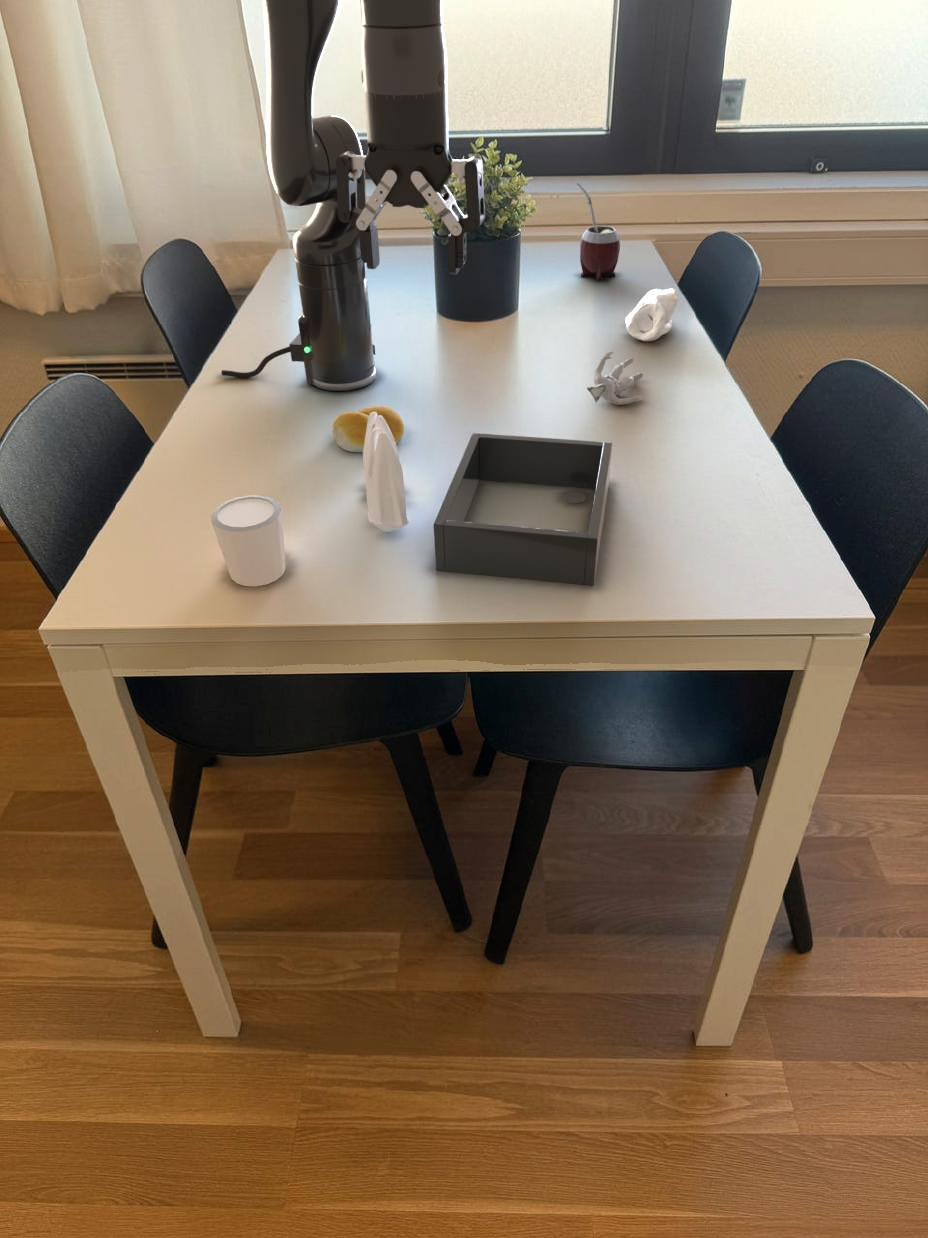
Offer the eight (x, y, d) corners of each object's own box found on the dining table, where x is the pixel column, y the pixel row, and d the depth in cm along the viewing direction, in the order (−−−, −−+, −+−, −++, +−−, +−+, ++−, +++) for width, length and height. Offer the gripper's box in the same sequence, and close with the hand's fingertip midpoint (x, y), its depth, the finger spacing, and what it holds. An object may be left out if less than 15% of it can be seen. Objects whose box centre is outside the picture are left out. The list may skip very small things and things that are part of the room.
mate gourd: (619, 281, 160) (626, 191, 151) (575, 282, 160) (580, 192, 151) (614, 268, 166) (621, 181, 157) (572, 269, 166) (576, 182, 157)
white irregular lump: (650, 314, 147) (685, 276, 141) (666, 367, 141) (704, 329, 135) (609, 297, 143) (643, 256, 137) (625, 350, 137) (661, 310, 131)
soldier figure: (655, 392, 125) (636, 399, 114) (627, 412, 127) (606, 421, 117) (625, 346, 124) (603, 348, 114) (597, 367, 127) (573, 371, 116)
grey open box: (435, 570, 90) (433, 524, 87) (473, 474, 105) (472, 432, 102) (593, 585, 87) (597, 538, 84) (608, 485, 103) (612, 442, 99)
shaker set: (410, 539, 95) (403, 445, 88) (370, 543, 94) (360, 449, 87) (400, 484, 104) (393, 395, 97) (365, 487, 104) (355, 398, 97)
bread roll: (416, 441, 113) (414, 411, 110) (353, 460, 109) (350, 430, 106) (384, 417, 118) (382, 389, 116) (323, 435, 114) (319, 406, 112)
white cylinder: (228, 554, 93) (215, 496, 89) (294, 549, 94) (284, 491, 89) (219, 592, 88) (205, 533, 84) (289, 587, 88) (278, 528, 84)
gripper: (491, 79, 81) (489, 262, 91) (343, 75, 84) (358, 253, 94) (474, 93, 75) (474, 286, 86) (315, 88, 78) (334, 276, 88)
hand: (413, 269), depth 90 cm, fingers open, 8 cm apart
